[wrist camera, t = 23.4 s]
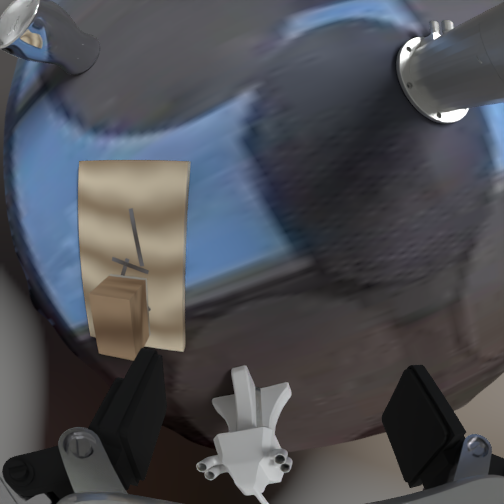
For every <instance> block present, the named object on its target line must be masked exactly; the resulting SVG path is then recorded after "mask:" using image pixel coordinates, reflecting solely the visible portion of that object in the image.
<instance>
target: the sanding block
mask: <svg viewBox="0 0 504 504" xmlns="http://www.w3.org/2000/svg"><path fill="white" fill-rule="evenodd" d="M89 299H90V306H91V312H92V319H93V325H94V330H95V336H96V341H97V346H98V351H99V354H104V355H108V356H113V357H118V358H123V359H128V360H135V358H136V356H137V354H138V352H139V351H140V349H141V348H144V346H145V344H146V342H147V340H148V338H149V336H150V322H149V308H148V290H147V278H139V277H131V276H122V275H114V274H110V275H109V276H108V277H107V278H106V279H104V280H103V281H102V282H101V283H100V284H99V285H98V286H97V287H96V288H95V289H94V290H92V291H91V292H90V293H89Z"/></svg>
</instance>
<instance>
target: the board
mask: <svg viewBox="0 0 504 504" xmlns="http://www.w3.org/2000/svg"><path fill="white" fill-rule="evenodd" d="M190 164H191V162H189V161H160V160H99V161H79V180H78V221H79V244H80V259H81V271H82V280H83V289H84V297H85V305H86V312H87V318H88V324H89V330H90V336H92V337H96V336H95V330H94V325H93V319H92V312H91V306H90V299H89V293H90V292H91V291H92V290H94V289H95V288H96V287H97V286H98V285H99V284H100V283H101V282H102V281H103V280H104V279H106V278H107V277H108V276H109V275H110V274H114V275H122V276H131V277H139V278H147V290H148V308H149V322H150V336H149V338H148V340H147V342H146V344H145V346H146V347H153V348H159V349H166V350H174V351H181V352H183V351H184V348H185V261H186V231H187V210H188V192H189V177H190Z"/></svg>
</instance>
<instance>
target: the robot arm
mask: <svg viewBox="0 0 504 504" xmlns="http://www.w3.org/2000/svg"><path fill="white" fill-rule="evenodd" d="M429 25H430V30H431V34H430V35H429V36H428V37H416V38H413V39H411V40H409V41H407V42H406V43H404V45H403V46H402V47H401V48H400V50H399V52H398V55H397V60H396V70H397V75H398V79H399V82H400V85H401V87H402V89H403V91H404V93H405V95H406V97H407V98H408V100H409V101H410V103H411V104H412V105H413V106H414V107H415V108H416V109H417V110H418V111H419V112H420V113H421V114H422V115H424V116H425V117H427V118H428V119H430V120H432V121H435V122H438V123H443V124H444V123H453V122H457V121H459V120H460V119H462V118H463V117H464V116H465V115H466V113H467V112H468V109H469V108H472V107H478V106H484V105H490V104H497V103H504V2H503V3H501V4H499V5H497V6H495V7H493V8H491V9H489V10H487V11H485V12H483V13H481V14H479V15H478V16H476V17H474V18H472V19H470V20H468V21H466V22H464V23H462V24H460V25H459V26H457V27H455V28H454V24H453V23H452V22H451V21H448V20H443V21H442V22H441V26H442V32H443V34H442V35H440V34H439V31H440V30H439V24H438V22H436V21H430V22H429ZM166 408H167V403H166V394H165V384H164V373H163V362H162V356H161V355H158V354H157V351H156V350H151V349H145V348H141V349H140V351H139V352H138V354H137V356H136V358H135V360H134V361H133V363H132V365H131V367H130V369H129V370H128V372H127V374H126V376H125V378H124V379H123V378H116V380H115V381H114V382H113V384H112V386H111V388H110V389H109V391H108V393H107V395H106V397H105V399H104V400H103V402H102V404H101V406H100V407H99V409H98V411H97V413H96V415H95V417H94V419H93V420H92V422H91V424H90V426H89V428H88V429H87V428H81V427H77V428H72V429H69V430H67V431H66V432H64V433H63V434H62V435H61V437H60V439H59V442H58V445H59V446H55V447H52V448H48V449H44V450H40V451H36V452H32V453H27V454H23V455H19V456H15V457H12V458H10V459H9V460H8V461H6V463H5V464H4V466H3V471H2V473H0V504H181V503H175V502H170V501H165V500H158V499H153V498H147V497H142V496H137V495H131V494H127V493H126V491H125V490H128V488H129V486H130V484H131V485H135V486H138V483H139V480H144V479H145V477H146V474H147V470H148V467H149V464H150V461H151V457H152V454H153V451H154V448H155V444H156V441H157V438H158V435H159V432H160V429H161V426H162V423H163V420H164V416H165V413H166ZM382 423H383V425H384V428H385V430H386V433H387V435H388V438H389V440H390V443H391V446H392V448H393V451H394V453H395V456H396V459H397V462H398V464H399V467H400V470H401V472H402V475H403V478H404V480H405V482H408V484H409V487H410V488H412V487H416V486H420V485H421V484H423V486H424V488H423V491H420V492H416V493H413V494H409V495H405V496H401V497H396V498H392V499H388V500H383V501H377V502H372V503H366V504H504V458H501V457H499V456H496V455H494V454H491V453H492V447H491V444H490V442H489V441H488V440H487V439H486V438H485V437H483V436H481V435H477V434H472V435H469V436H468V437H466V438H465V437H464V434H465V433H466V431H465V429H464V428H463V426H462V424H461V423H460V421H459V419H458V418H457V416H456V414H455V413H454V411H453V410H452V408H451V406H450V405H449V403H448V402H447V400H446V399H445V397H444V395H443V394H442V392H441V391H440V389H439V388H438V386H437V385H436V383H435V382H434V380H433V379H432V377H431V376H430V374H429V373H428V371H427V370H426V368H425V367H424V366H423V365H411V366H409V367H408V368H407V369H406V370H404V372H403V374H402V376H401V378H400V381H399V383H398V385H397V387H396V389H395V391H394V393H393V395H392V397H391V399H390V401H389V403H388V405H387V407H386V409H385V411H384V413H383V415H382Z"/></svg>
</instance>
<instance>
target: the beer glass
mask: <svg viewBox="0 0 504 504" xmlns="http://www.w3.org/2000/svg"><path fill="white" fill-rule="evenodd" d="M0 49H1V50H3V51H5V52H7V53H9V54H11V55H13V56H16V57H18V58H21V59H24V60H27V61H32V62H39V63H48V64H55V65H58V66H59V67H61V68H62V69H63V70H64V71H65V72H66V73H68V74H71V75H77V74H81V73H83V72H85V71H86V70H88V69H89V68H90V67H91V66H92V65H93V64H94V62H95V61H96V59H97V58H98V55H99V52H100V42H99V40H98V39H97V38H96V37H95V36H93V35H90V34H87V33H84V32H83V31H82V30H80V28H79V27H78V26H77V25H76V23H75V22H74V21H73V19H72V18H71V17H70V15H69V14H68V13H67V12H66V11H65V10H64V9H63V8H62V7H60V6H59V5H58V4H56V3H55V2H53V1H52V0H14V1H13V2H12V3H11V4H10V5H9V6H8V7H7V9H6V10H5V11H4V13H3V14H2V15H1V17H0Z"/></svg>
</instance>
